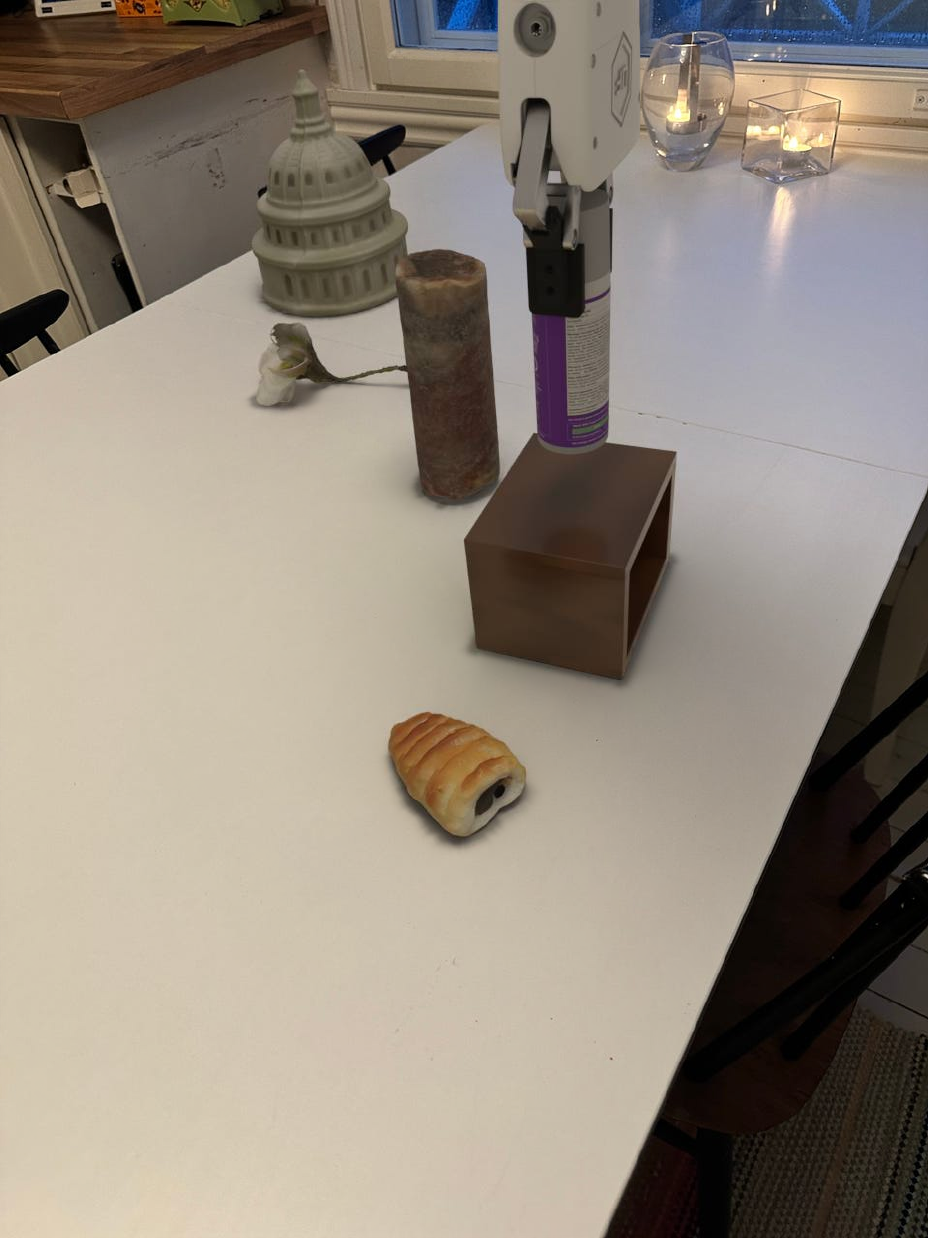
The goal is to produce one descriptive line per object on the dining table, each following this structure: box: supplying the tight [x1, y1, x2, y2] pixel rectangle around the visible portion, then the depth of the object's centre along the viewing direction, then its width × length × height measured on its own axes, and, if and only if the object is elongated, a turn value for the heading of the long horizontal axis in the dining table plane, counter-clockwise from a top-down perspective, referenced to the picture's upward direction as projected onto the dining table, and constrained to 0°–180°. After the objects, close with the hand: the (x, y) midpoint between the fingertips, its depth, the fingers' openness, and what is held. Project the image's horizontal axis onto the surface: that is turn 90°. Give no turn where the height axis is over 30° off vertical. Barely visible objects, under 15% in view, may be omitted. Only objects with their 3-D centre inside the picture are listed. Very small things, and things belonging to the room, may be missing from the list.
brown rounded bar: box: [395, 248, 501, 500], centre depth 78 cm, size 8×7×20 cm
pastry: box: [387, 711, 527, 837], centre depth 58 cm, size 9×7×4 cm
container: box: [531, 188, 612, 454], centre depth 56 cm, size 5×5×15 cm
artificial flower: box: [255, 322, 407, 407], centre depth 97 cm, size 9×22×10 cm, turn 78°
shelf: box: [463, 432, 678, 680], centre depth 68 cm, size 11×14×10 cm
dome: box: [251, 69, 409, 317], centre depth 114 cm, size 20×25×20 cm
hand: (571, 291), depth 55 cm, fingers closed on container, 4 cm apart
